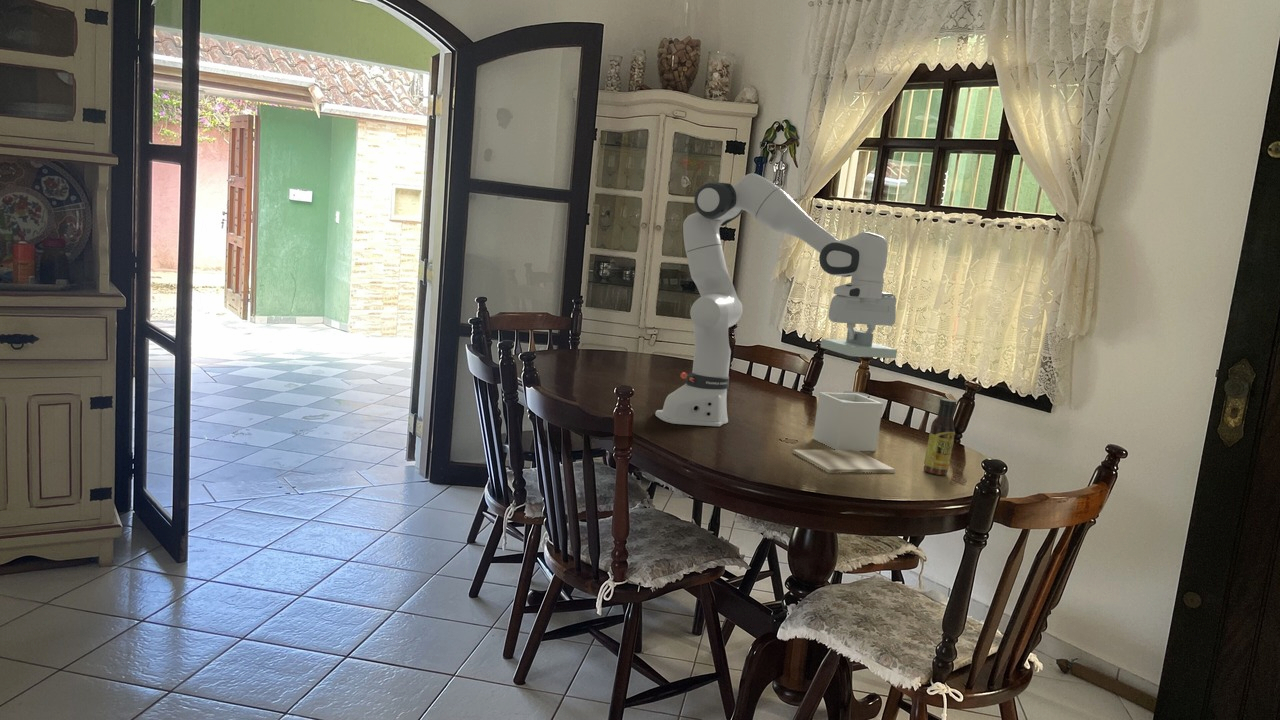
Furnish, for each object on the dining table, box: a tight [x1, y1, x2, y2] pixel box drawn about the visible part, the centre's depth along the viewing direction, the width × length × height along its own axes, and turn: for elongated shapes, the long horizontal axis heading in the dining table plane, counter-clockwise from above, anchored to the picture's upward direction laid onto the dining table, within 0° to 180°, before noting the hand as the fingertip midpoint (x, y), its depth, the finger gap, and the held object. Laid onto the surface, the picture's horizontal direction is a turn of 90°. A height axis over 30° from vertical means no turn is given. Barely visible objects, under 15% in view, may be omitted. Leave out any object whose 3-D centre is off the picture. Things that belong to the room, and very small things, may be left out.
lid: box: [820, 329, 898, 359], centre depth 239 cm, size 15×15×6 cm
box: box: [812, 391, 884, 452], centre depth 246 cm, size 13×13×14 cm
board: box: [792, 449, 896, 474], centre depth 226 cm, size 20×18×1 cm
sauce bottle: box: [923, 398, 957, 476], centre depth 224 cm, size 6×6×20 cm
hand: (859, 339), depth 239 cm, fingers closed on lid, 3 cm apart
